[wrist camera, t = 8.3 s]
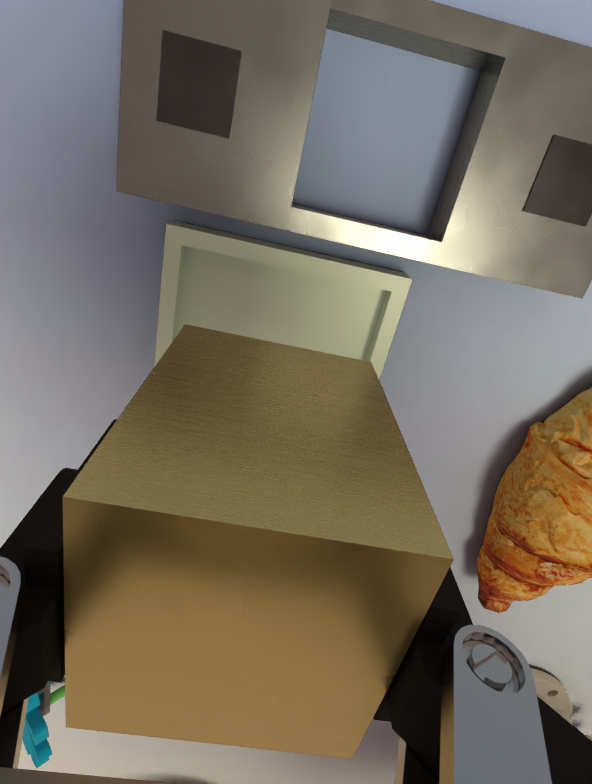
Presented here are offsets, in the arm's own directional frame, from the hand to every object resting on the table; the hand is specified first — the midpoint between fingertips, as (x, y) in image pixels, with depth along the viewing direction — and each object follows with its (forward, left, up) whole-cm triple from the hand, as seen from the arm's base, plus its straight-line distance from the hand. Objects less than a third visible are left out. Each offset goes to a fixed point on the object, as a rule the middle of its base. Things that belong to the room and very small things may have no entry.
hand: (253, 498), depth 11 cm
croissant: (-21, +6, -15) cm, 26 cm away
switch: (-3, -9, -15) cm, 18 cm away
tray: (0, 0, -15) cm, 15 cm away
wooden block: (0, 0, -4) cm, 4 cm away
